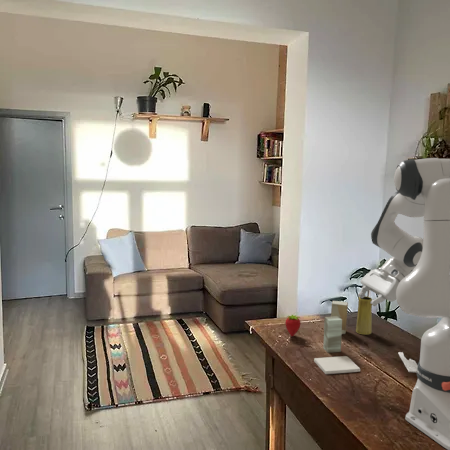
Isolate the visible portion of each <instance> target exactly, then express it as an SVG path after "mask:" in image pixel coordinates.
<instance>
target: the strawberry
mask: <svg viewBox="0 0 450 450" xmlns="http://www.w3.org/2000/svg"><path fill="white" fill-rule="evenodd" d="M301 325H302V324H301V317H299V316H297V315H295V313H293V314H291V315H288V316H287V317H286V319H285V328H286V330H287V332H288V333H289V335H290V337H292V338H293V337H294V336H296V334H297V332H299V330H300V327H301Z"/></svg>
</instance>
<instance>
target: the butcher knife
mask: <svg viewBox="0 0 450 450" xmlns="http://www.w3.org/2000/svg"><path fill="white" fill-rule="evenodd" d="M397 354H398V356H399V358H400V359H401V361H402V363H403V364H404V366H405V368H406V369H407V371H408V373H417V367H418V363H417V362H416V360H413V359H412V358H409V359H407V358H406V356H405V355H404V352H403V351H402V352H401V351H399V352H398V353H397Z"/></svg>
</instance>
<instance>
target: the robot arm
mask: <svg viewBox="0 0 450 450" xmlns="http://www.w3.org/2000/svg"><path fill="white" fill-rule="evenodd" d="M393 184H394V186H395V190H396V192H395V193H393V194H392V195H391V196H390V198H388V200H387V202H386V204H385V206H384V208H383V210H382V212H381V215H380V216H379V219H378V221H377V223H376V225H375V226H374V227H373V228H372V231H371V233H370V238H371V243H372V244H373V245H375V246H377V248H379V249H381V250H383V251H384V252H386V253H387V254H388V255H390V256H391V257H390V258H388V259H387V260H386V261H385V262H384V264H382V266H380V267H378V268H374V269H371V270H370V271H369V272H367V274H365V275H364V276H363V277H362V278H361V279H360V284H361V285H362V286H361V289H360V291H359V293H358V294H357V296H358V298H359V297H360V298H364V297H365V296H366V293H367V292H369V291H371V292H373V293H374V294H376V295H377V297H376V298H375V299H374V298H372V301H371V302H370V303H371V304H372V307H377V306H378V304H380V303H383V302H384V301H385V300H387V301H389V302H390V303H392V302H395V301H396V302H397V304H398V306H399V308H400V309H401V310H402V311H403V313H404V314H406V315H409V316H415V317H420V318H441V319H440V320H439V321H438V323H437V324H436V325H434V326H433V327H430V328H428V329H427V330H426V331H425V332H424V333H423V335H422V336H421V339H420V349H419V351H420V354H419V361H418V362H417V365H418V367H417V372H416V376H417V380H416V383H415V385H414V387H413V389H412V394H411V398H410V399H411V400H410V405H409V411H408V412H407V413H406V414H405V418H404V419H405V420H406V421H407V422H408V423H410V424H411V425H412V426H413V427H415V428H417V429H418V430H419V431H420V432H422V433H424V434H425V435H426V436H428V437H429V438H430V439H431V440H432V441H433V440H434V441H435V442H436V443H437V444H439V445H440V446H442V447H443V448H445V449H446V450H450V158H438V157H427V158H418V159H414V158H409V159H405V160H402V161H400V162H399V163H398V164H397V166H396V169H395V171H394V174H393ZM398 215H403V216H406V217H409V218H422V217H423V238H422V237H421V236H417V235H414V236H413V235H411V234H409V233H408V232H407V231H405V230H404V229H402V228H400V227H399V226H398V225H397V224H396V223H395V220H396V219H397V217H398Z"/></svg>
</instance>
